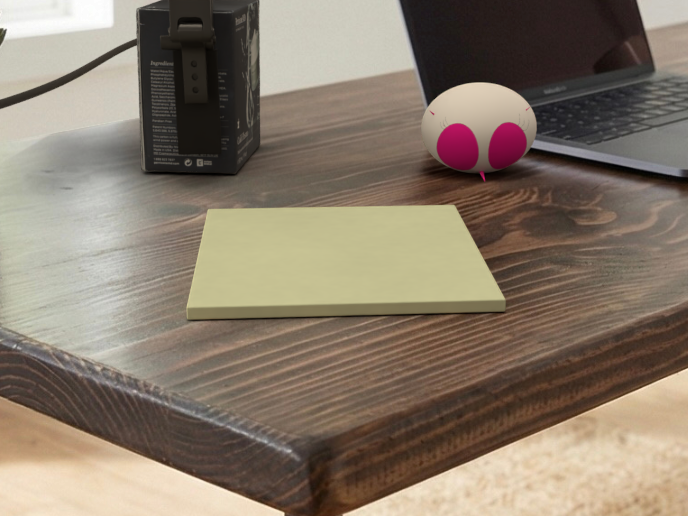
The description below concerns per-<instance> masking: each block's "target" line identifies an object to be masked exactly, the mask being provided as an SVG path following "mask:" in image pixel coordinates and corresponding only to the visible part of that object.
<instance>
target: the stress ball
mask: <svg viewBox="0 0 688 516" xmlns="http://www.w3.org/2000/svg"><path fill="white" fill-rule="evenodd" d="M537 127H538V126H537V118H536V114H535V112H534V110H533V108H532V106H531V105H530V104H529V103H528V101H527V100H526V99H525V98H524V97H523V96H522V95H520V94H519V93H517V92H516V91H515V90H513V89H511V88H508V87H506V86H504V85H501V84H496V83H491V82H469V83H463V84H460V85H456V86H454V87H450V88H449V89H447V90H445V91H443V92H442V93H440V94H438V95H437V97H436V98H435V99H433V100H432V101H431V102H430V104H428V106H427V108H426V110H425V111H424V113H423V116H422V118H421V124H420V134H421V139H422V142H423V145H424V147H425V148H426V150H427V151H428V153H429V154H430V155H431V156H432V157H433V158H434V159H435V160H436V161H437V162H439V163H440V164H442V165H444V166H445V167H447V168H449V169H452V170H455V171H458V172H462V173H467V174H480V176H481V178H482V179H483V181H484V182H486V179H485V174H489V173H494V172H497V171H501V170H504V169H507V168H508V167H511V166H513V165H514V164H516V163H517V162H519V161H520V160H522V158H523V157H524V156H525V155H526V154H527V153H528V152H529V151H530V149H531V148H532V146H533V144H534V142H535V139H536V136H537V130H538V128H537Z"/></svg>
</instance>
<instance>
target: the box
mask: <svg viewBox="0 0 688 516" xmlns="http://www.w3.org/2000/svg"><path fill="white" fill-rule="evenodd" d="M260 6H261V5H260V0H213V21H214V36H216V44H215V45H214V49H217V57H218V79H219V100H220V122H221V143H222V154H184V155H178V139H177V122H176V105H175V87H174V70H173V53H172V50H161V44H160V36H168V28H169V27H170V14H169V0H157V1H154V2H151V3H148V4H147V5H143V6H139V7H137V8H136V11H135V22H136V32H135V33H136V35H135V36H136V38H137V46H136V52H137V53H136V55H137V81H138V111H139V149H140V169H141V171H143V172H147V173H149V172H150V173H154V172H155V173H196V174H197V173H198V174H231V175H232V174H233V175H234V174H237V172H239V170H241V168H242V166H243V165H245V163H247V160H248V159H249V158H250V157H251V156H252V155H253V154H254V152H255V151H256V150H257V149H258V148H259V147H260V145H261V61H260V59H261V57H260V56H261V55H260V53H261V47H260V44H261V41H260V39H261V38H260V37H261V35H260V34H261V33H260Z"/></svg>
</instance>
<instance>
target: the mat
mask: <svg viewBox="0 0 688 516" xmlns="http://www.w3.org/2000/svg"><path fill="white" fill-rule="evenodd" d="M466 225H467V224H465V222H464V219H463V218H462V216H461V214H460V212H459V210H458V209H457V207H456V204H428V205H425V204H424V205H423V204H422V205H370V206H369V205H367V206H366V205H365V206H315V207H314V206H306V207H303V206H302V207H300V206H299V207H251V208H250V207H249V208H248V207H245V208H244V207H243V208H242V207H241V208H240V207H239V208H208V209H207V212H206V217H205V221H204V226H203V230H202V235H201V240H200V244H199V248H198V254H197V258H196V263H195V266H194V272H193V275H192V276H193V277H192V281H191V285H190V290H189V295H188V299H187V304H186V308H185V309H186V319H187V320H189V321H191V320H193V321H194V320H228V319H229V320H230V319H231V320H233V319H266V318H267V319H268V318H270V319H271V318H307V317H308V318H309V317H310V318H312V317H347V316H350V317H351V316H385V315H386V316H387V315H426V314H427V315H428V314H461V313H462V314H463V313H503V312H506V310H507V309H506V308H507V306H506V305H507V300H506V298H505V295H504V294H503V292H502V291H501V289H500V286H499V285H498V283H497V281H496V279H495V276H494V275H493V274H492V272H491V269H490V267H489V266H488V264H487V262H486V261H485V259H484V257H483V255H482V253H481V251H480V250H479V248H478V246H477V244H476V242H475V240H474V238H473V236H472V234H471V232H470V231H469V229H468V227H467V226H466Z"/></svg>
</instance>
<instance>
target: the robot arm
mask: <svg viewBox="0 0 688 516" xmlns="http://www.w3.org/2000/svg"><path fill="white" fill-rule="evenodd" d="M169 14H170V27H169V28H168V36H160V44H161V50H172V53H173V70H174V87H175V105H176V122H177V139H178V155H184V154H222V143H221V122H220V100H219V79H218V57H217V49H214V45H215V44H216V36H214V21H213V0H169ZM134 47H137V37H136V38H134V39H133V38H132V39H131V40H128V41H127V42H124V43H123V44H119V45H118V46H116V47H114V48H113V49H110V50H108V51H107V52H104V53H103V54H102V55H99V56H98V57H96V58H95V59H93V60H91V61H89V62H87V63H86V64H84V65H81V67H78V68H76V69H75V70H73V71H71V72H68V73H67V74H64V75H62V76H60V77H58V78H55V79H53V80H51V81H49V82H45V83H44V84H40V85H38V86H36V87H33V88H30V89H27V90H25V91H22V92H19V93H16V94H13V95H10V96H7V97H3V98H1V99H0V110H3V109H5V108H8V107H12V106H14V105H17V104H20V103H23V102H26V101H28V100H31V99H34V98H37V97H39V96H42V95H44V94H47V93H49V92H52V91H54V90H56V89H58V88H60V87H62V86H64V85H66V84H69V83H70V82H73V81H74V80H77V79H78V78H80V77H82V76H84V75H86V74H87V73H89V72H91V71H92V70H94V69H96V68H98V67H99V66H101V65H103V64H104V63H106V62H107V61H109V60H110V59H112V58H114V57H116V56H118V55H119V54H122V53H123V52H126V51H128V50H130V49H132V48H134Z"/></svg>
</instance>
